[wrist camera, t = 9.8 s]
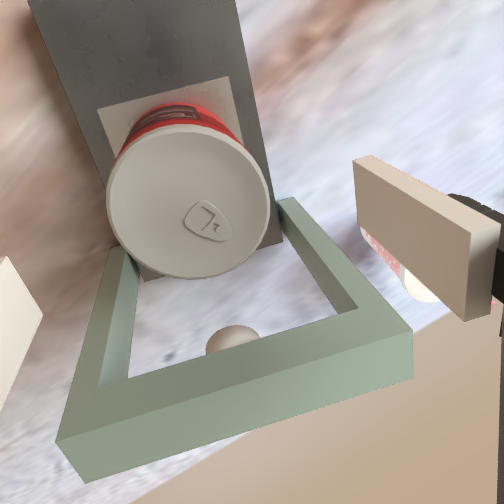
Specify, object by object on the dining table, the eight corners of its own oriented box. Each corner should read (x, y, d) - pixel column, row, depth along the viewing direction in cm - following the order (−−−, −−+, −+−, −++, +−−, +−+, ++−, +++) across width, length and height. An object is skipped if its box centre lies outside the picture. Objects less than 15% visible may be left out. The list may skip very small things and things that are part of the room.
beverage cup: (347, 252, 37) (435, 348, 25) (359, 189, 35) (465, 264, 22) (405, 250, 39) (516, 342, 26) (421, 190, 36) (553, 261, 24)
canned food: (213, 222, 31) (235, 298, 21) (111, 186, 28) (82, 254, 18) (254, 130, 28) (299, 168, 19) (146, 80, 26) (133, 95, 16)
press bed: (36, 4, 25) (25, 0, 23) (221, -39, 25) (226, -47, 23) (145, 270, 34) (144, 283, 32) (277, 232, 35) (283, 242, 33)
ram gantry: (110, 248, 32) (55, 441, 16) (293, 196, 33) (412, 329, 17) (124, 278, 34) (85, 483, 18) (298, 227, 35) (413, 377, 19)
